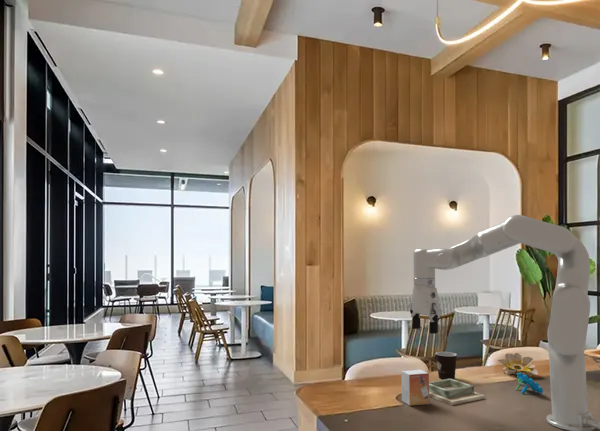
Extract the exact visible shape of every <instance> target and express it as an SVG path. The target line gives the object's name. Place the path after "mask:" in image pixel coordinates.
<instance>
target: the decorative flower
mask: <svg viewBox="0 0 600 431" xmlns="http://www.w3.org/2000/svg"><path fill="white" fill-rule="evenodd" d="M504 358H505V359H497V362H498V363H501V365H502V366H503V368H502V369H501V371H505V375H507V376H508V375H513V374H516V375H517V373H522V374H523V375H524V374H525V375H527V376H528V377H532V376H533V375H538V373H539V372H538V370H537V369H535V367H536V365H535V364H532V363H533V361H534V358H533V357H530V356H524V357H523V356H522V355H521V354H520V353H519V352H515V353H510V352H508V353H506V354H505V355H504Z"/></svg>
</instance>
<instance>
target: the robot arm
mask: <svg viewBox="0 0 600 431" xmlns="http://www.w3.org/2000/svg"><path fill="white" fill-rule="evenodd" d="M519 244H523V245H524V246H525V245H526V246H528V247H532V248H535V249H539V250H542V251H545V252H548V253H551V254H553V255H555V257H556V258H557V271H556V273H557V274H556V280H555V288H554V291H553V294H552V298H551V307H550V309H551V310H550V315H549V321H548V322H549V324H548V327H547V330H546V331H547V332H546V336H547V343H548V345H547V347H548V363H549V381H550V385H549V386H550V398H551V400H550V402H551V413H550V414H547V415H546V421H547V423H548V424H550V425H551V426H553V427H556V428H558V429H562V430H565V431H595V430H596V429H598V430H600V419H598V418H594V417H593V412H592V411H589V406H588V405H589V404H588V389H587V373H586V372H587V371H586V358H585V354H586V353H585V345H586V341H587V336H588V329H589V320H590V313H591V312H590V311H591V299H590V297H589V295H588V293H589V282H590V271H591V259H590V254H589V252H588V250H587V248H586V246H585V245H584V243H583V242H582V241H581V240H580V239H579V238H577V236H575V235H574V234H573V233H572V231H570V230H569V229H568V228H566V227H565V226H562V225H557V224H553V223H550V222H545V221H544V220H543V221H542V220H540V219H535V218H532V217H528V216H526V215H522V214H515V215H511V216H509V217H508V218H507V219H506V220H505V221H503V222H500V223H498V224H496V225H493V226H491V227H488V228H486V229H483V230H481V231H479V232H477V233H476V234H474V235H473V236H472V237H471V238H469V239H467V240H466V241H463V242H462V243H459V244H456V245H455V246H452V247H449V248H438V249H437V248H436V249H431V248H417V249H415V250H414V251H413V288H412V298H411V299H412V300H411V303H409V304H408V308H409V314H410V317H411V324H412V326H411V329H413V330H420V329H421V317H420V316H421V315H422V316H426V317H427V316H428V318H429V324H428V326H429V329H428V330H429V334H430V335H431V334H432V335H433V334H438V333H439V322H440V319H441V318H442V312H443V310H442V309H441V308H440V303H439V294H438V289H437V287H436V270H442V271H448V270H454V269H455V268H456V269H457V268H459V267H462V266H464V265H467V264H469V263H473V262H474V261H477V260H479V259H481V258H482V259H483V258H487V257H488V256H492V255H494V254H496V253H499V252H501V251H503V250H507V249H508V248H512V247H515V246H517V245H519Z"/></svg>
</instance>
